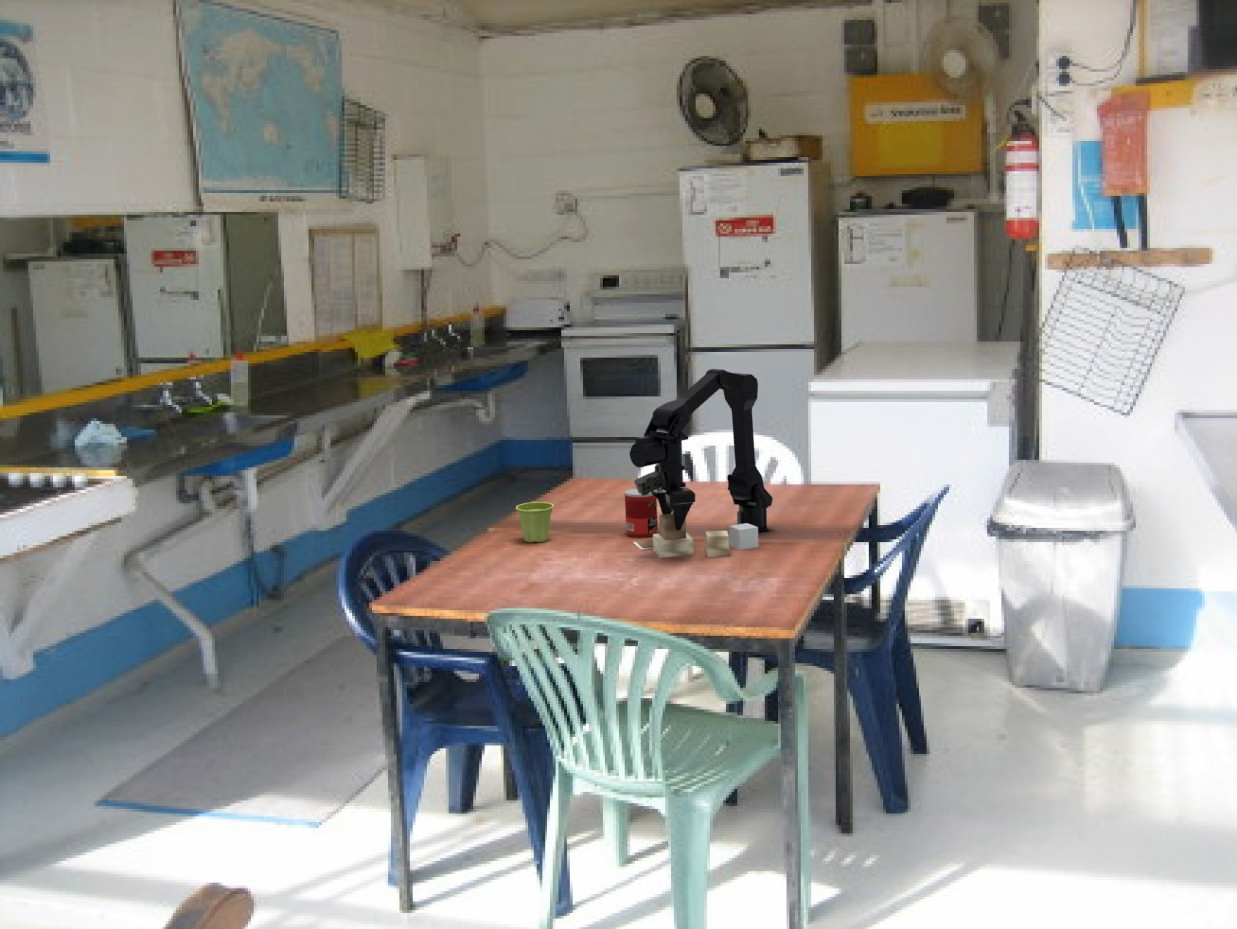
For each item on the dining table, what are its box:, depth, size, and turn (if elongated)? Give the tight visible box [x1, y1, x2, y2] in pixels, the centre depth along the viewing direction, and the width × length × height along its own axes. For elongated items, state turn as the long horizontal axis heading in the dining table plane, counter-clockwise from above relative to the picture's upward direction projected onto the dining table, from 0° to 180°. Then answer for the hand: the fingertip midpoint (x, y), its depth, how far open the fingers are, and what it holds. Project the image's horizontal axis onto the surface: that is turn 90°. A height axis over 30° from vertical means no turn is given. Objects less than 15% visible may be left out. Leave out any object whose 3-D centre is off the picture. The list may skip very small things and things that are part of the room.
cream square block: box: [652, 532, 695, 558], centre depth 314 cm, size 8×8×4 cm
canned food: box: [624, 488, 659, 538], centre depth 332 cm, size 8×8×11 cm
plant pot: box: [515, 501, 555, 543], centre depth 331 cm, size 9×9×9 cm
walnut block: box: [658, 513, 687, 540], centre depth 313 cm, size 5×5×5 cm
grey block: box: [728, 523, 759, 551], centre depth 316 cm, size 5×5×5 cm
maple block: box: [705, 530, 730, 558], centre depth 311 cm, size 5×5×5 cm
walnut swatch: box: [633, 539, 653, 551], centre depth 321 cm, size 7×7×1 cm
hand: (672, 525), depth 313 cm, fingers open, 9 cm apart
